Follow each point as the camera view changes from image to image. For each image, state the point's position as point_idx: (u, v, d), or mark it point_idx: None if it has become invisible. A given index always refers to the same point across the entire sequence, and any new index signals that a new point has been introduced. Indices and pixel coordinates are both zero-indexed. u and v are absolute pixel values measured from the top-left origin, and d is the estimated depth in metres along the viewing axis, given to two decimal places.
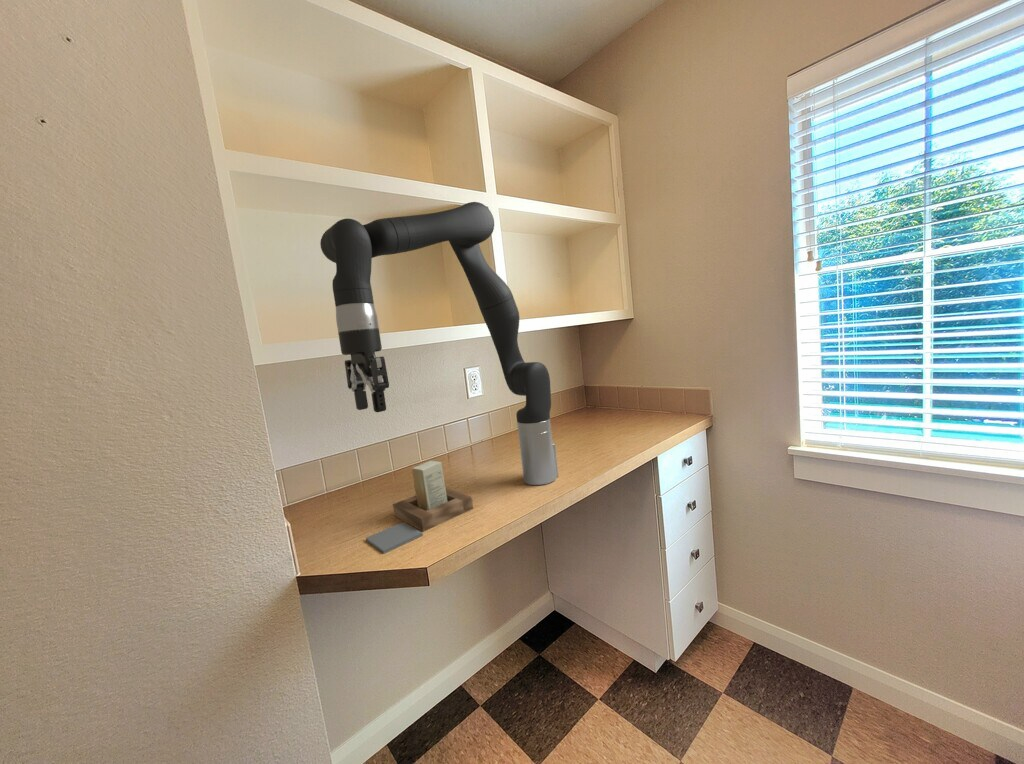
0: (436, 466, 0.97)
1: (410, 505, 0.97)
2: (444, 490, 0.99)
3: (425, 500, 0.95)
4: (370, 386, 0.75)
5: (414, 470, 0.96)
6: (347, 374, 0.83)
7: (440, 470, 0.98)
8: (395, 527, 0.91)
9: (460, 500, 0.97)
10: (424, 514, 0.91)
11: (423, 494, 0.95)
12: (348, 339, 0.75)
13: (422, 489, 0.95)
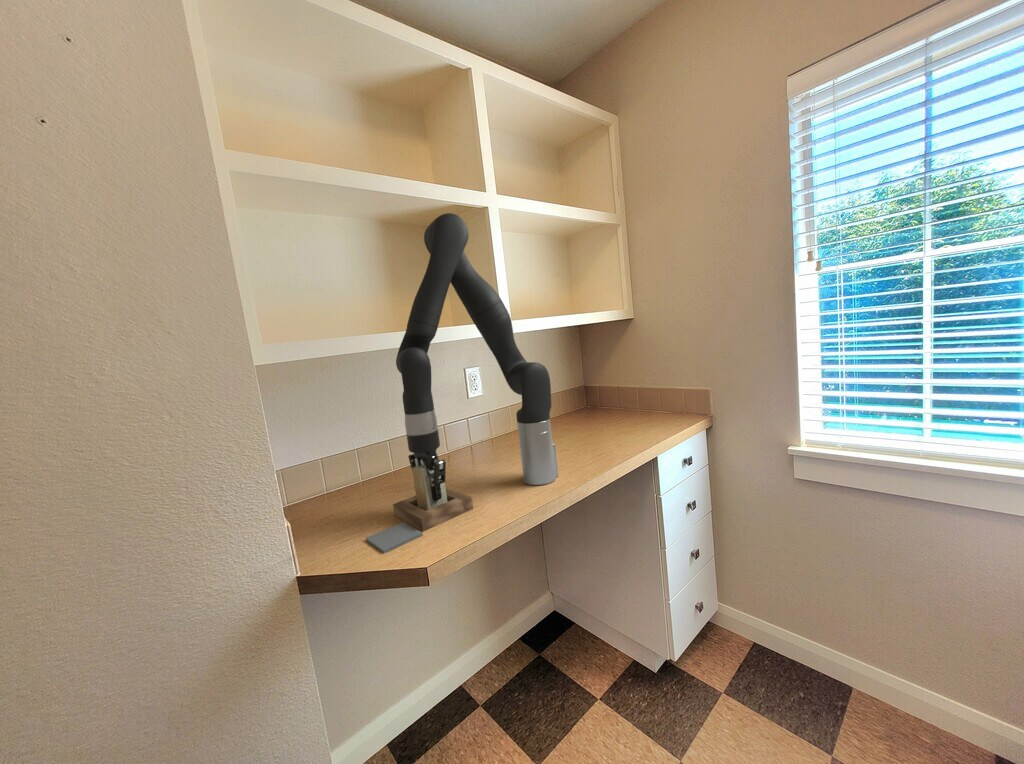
0: None
1: (410, 505, 0.97)
2: (444, 490, 0.99)
3: (425, 500, 0.95)
4: (430, 481, 0.95)
5: (414, 470, 0.96)
6: (412, 466, 1.01)
7: None
8: (395, 527, 0.91)
9: (460, 500, 0.97)
10: (424, 514, 0.91)
11: (423, 494, 0.95)
12: (416, 442, 0.93)
13: (422, 489, 0.95)
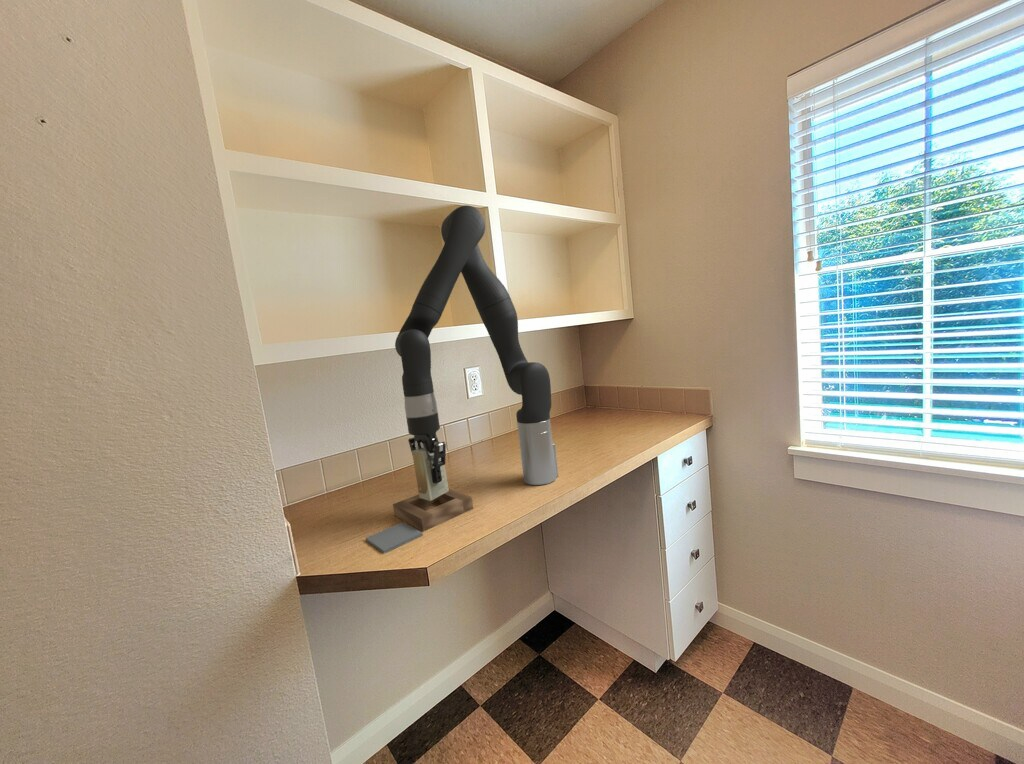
0: None
1: (410, 505, 0.97)
2: (444, 473, 0.99)
3: (425, 482, 0.95)
4: (430, 463, 0.95)
5: (414, 453, 0.96)
6: (412, 450, 1.01)
7: None
8: (395, 527, 0.91)
9: (460, 500, 0.97)
10: (424, 514, 0.91)
11: (423, 476, 0.95)
12: (416, 424, 0.93)
13: (422, 471, 0.95)
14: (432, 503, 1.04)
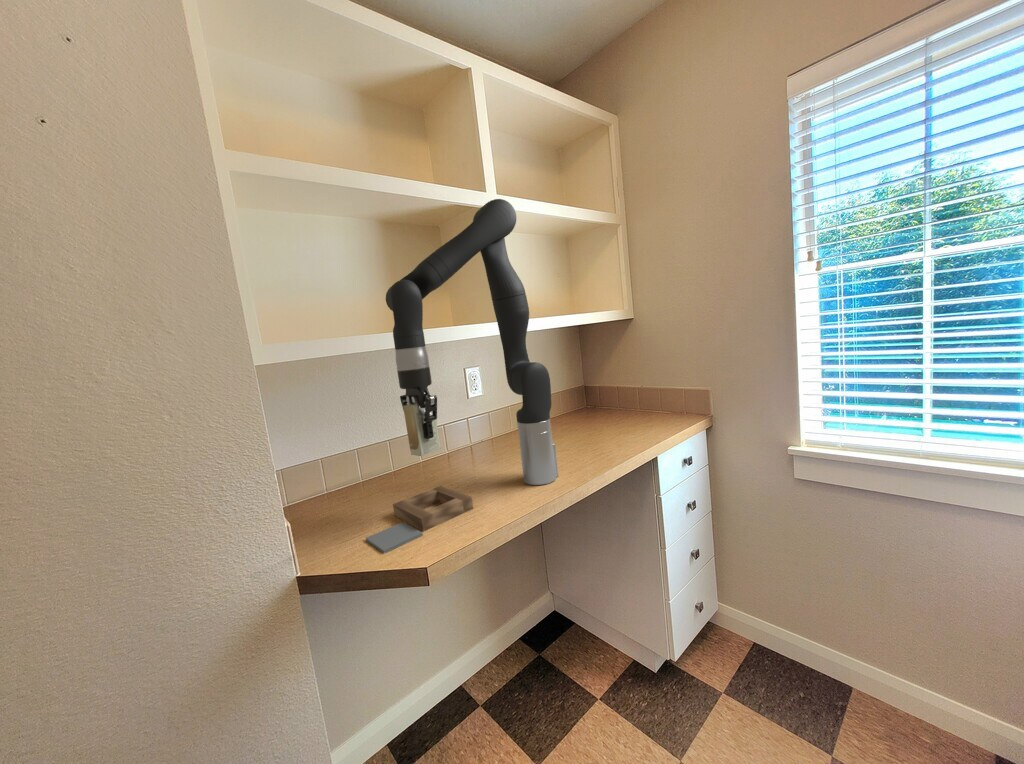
0: None
1: (410, 505, 0.97)
2: (436, 430, 0.98)
3: (416, 437, 0.94)
4: (422, 418, 0.94)
5: (405, 407, 0.94)
6: None
7: None
8: (395, 527, 0.91)
9: (460, 500, 0.97)
10: (424, 514, 0.91)
11: (414, 431, 0.94)
12: (407, 377, 0.92)
13: (413, 426, 0.94)
14: (432, 503, 1.04)
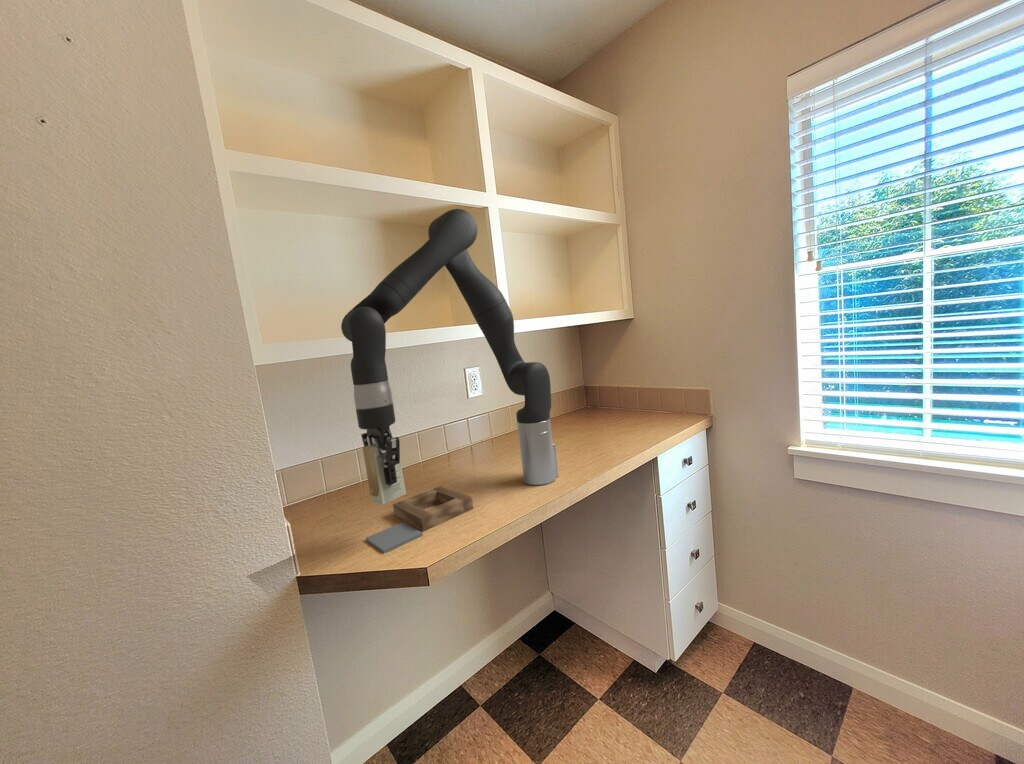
0: None
1: (410, 505, 0.97)
2: (401, 473, 0.87)
3: (377, 484, 0.83)
4: (383, 462, 0.83)
5: (364, 449, 0.84)
6: (365, 446, 0.89)
7: None
8: (395, 527, 0.91)
9: (460, 500, 0.97)
10: (424, 514, 0.91)
11: (374, 477, 0.83)
12: (365, 417, 0.81)
13: (373, 471, 0.83)
14: (432, 503, 1.04)
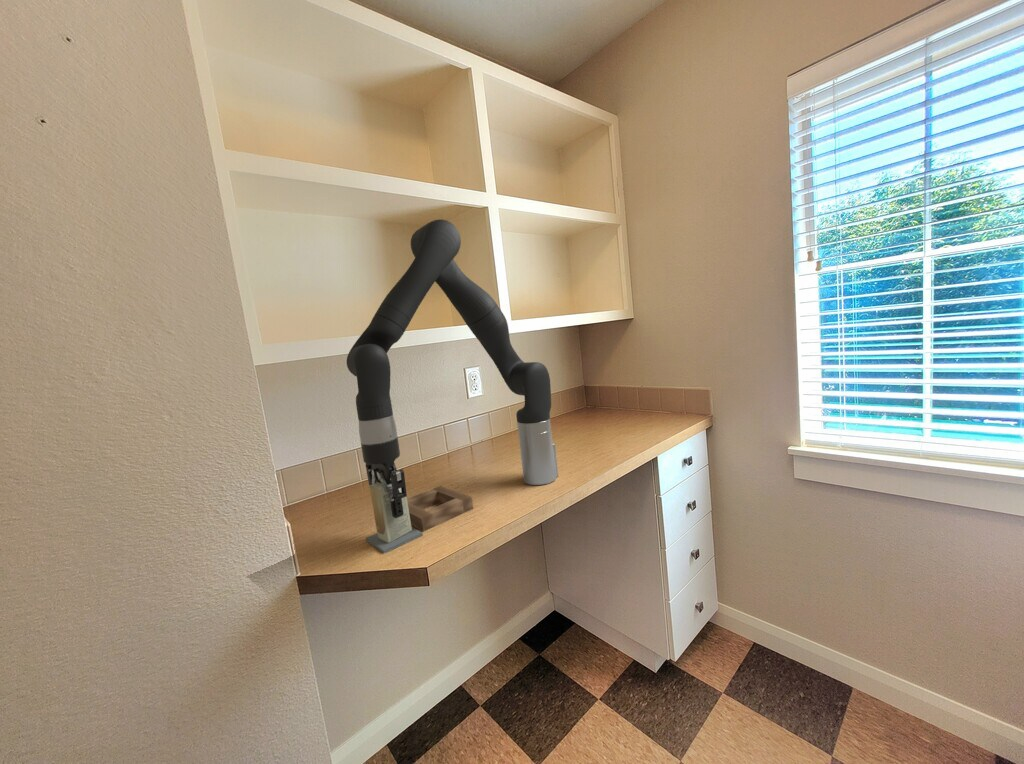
0: None
1: (410, 505, 0.97)
2: (407, 511, 0.88)
3: (383, 522, 0.84)
4: (389, 495, 0.83)
5: (371, 488, 0.85)
6: (368, 476, 0.90)
7: None
8: None
9: (460, 500, 0.97)
10: (424, 514, 0.91)
11: (380, 515, 0.84)
12: (371, 452, 0.82)
13: (379, 509, 0.84)
14: (432, 503, 1.04)
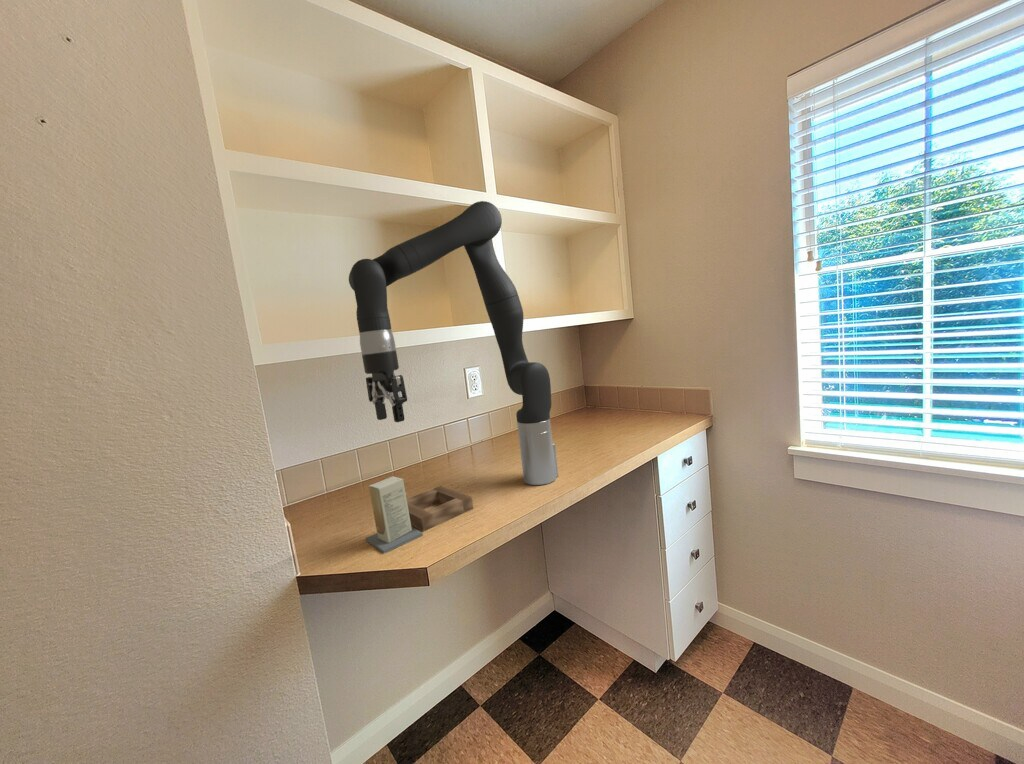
0: (396, 483, 0.86)
1: (410, 505, 0.97)
2: (407, 511, 0.88)
3: (383, 522, 0.84)
4: (391, 400, 0.89)
5: (371, 488, 0.85)
6: (368, 389, 0.96)
7: (401, 487, 0.87)
8: None
9: (460, 500, 0.97)
10: (424, 514, 0.91)
11: (380, 515, 0.84)
12: (371, 361, 0.88)
13: (379, 509, 0.84)
14: (432, 503, 1.04)
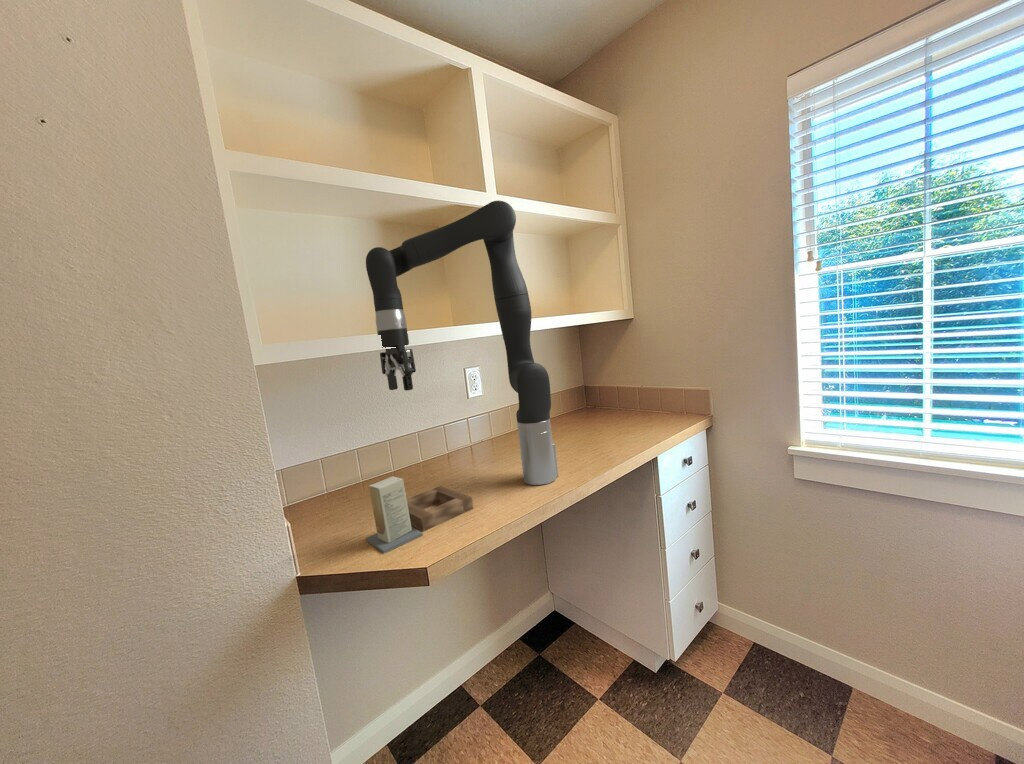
0: (396, 483, 0.86)
1: (410, 505, 0.97)
2: (407, 511, 0.88)
3: (383, 522, 0.84)
4: (401, 371, 1.01)
5: (371, 488, 0.85)
6: (382, 363, 1.09)
7: (401, 487, 0.87)
8: None
9: (460, 500, 0.97)
10: (424, 514, 0.91)
11: (380, 515, 0.84)
12: (385, 336, 1.01)
13: (379, 509, 0.84)
14: (432, 503, 1.04)
